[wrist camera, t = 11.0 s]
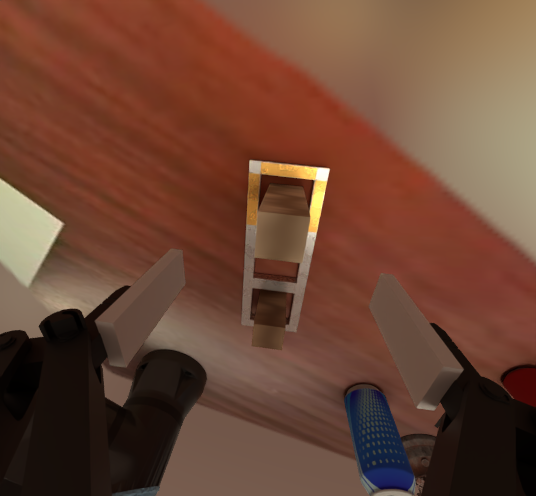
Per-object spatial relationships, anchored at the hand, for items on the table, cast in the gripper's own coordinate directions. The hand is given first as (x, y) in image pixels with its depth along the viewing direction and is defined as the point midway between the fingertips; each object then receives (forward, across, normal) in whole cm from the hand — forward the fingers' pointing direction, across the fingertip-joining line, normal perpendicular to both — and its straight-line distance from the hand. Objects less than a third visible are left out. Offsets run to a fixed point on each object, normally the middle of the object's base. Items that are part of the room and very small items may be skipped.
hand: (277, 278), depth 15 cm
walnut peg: (+19, 0, -18) cm, 26 cm away
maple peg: (+19, 0, 0) cm, 19 cm away
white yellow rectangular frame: (+19, 0, -8) cm, 21 cm away
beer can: (+19, +22, -40) cm, 49 cm away
